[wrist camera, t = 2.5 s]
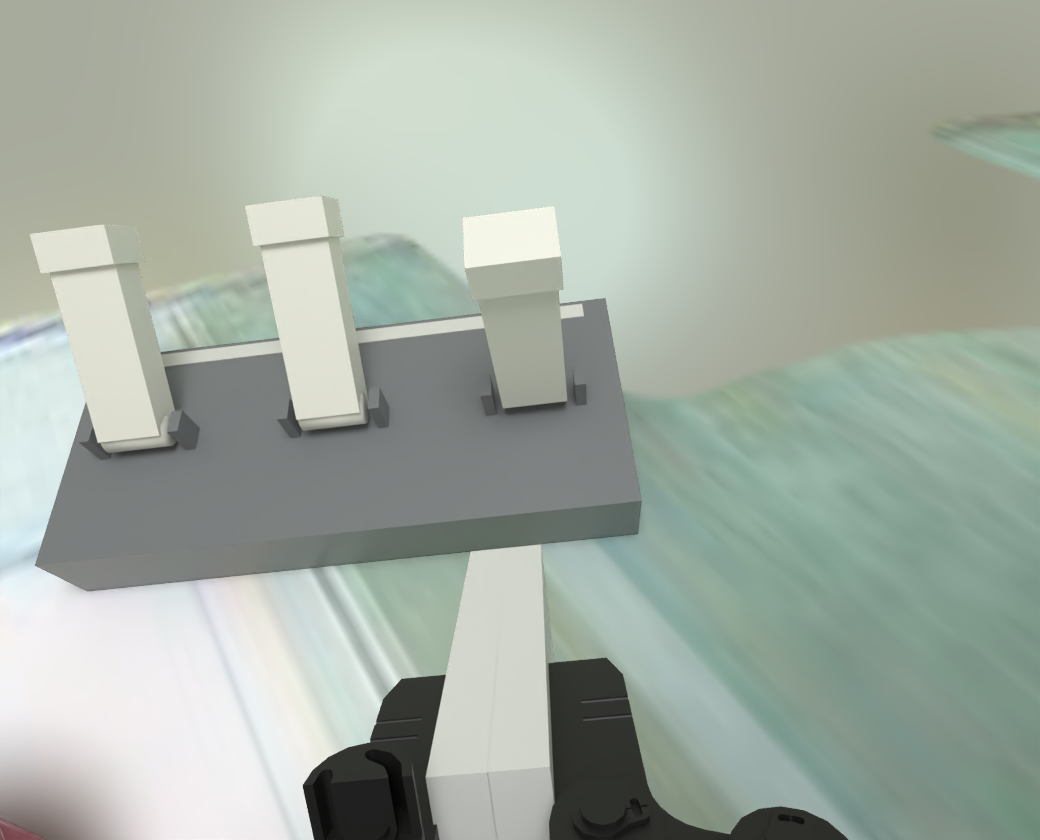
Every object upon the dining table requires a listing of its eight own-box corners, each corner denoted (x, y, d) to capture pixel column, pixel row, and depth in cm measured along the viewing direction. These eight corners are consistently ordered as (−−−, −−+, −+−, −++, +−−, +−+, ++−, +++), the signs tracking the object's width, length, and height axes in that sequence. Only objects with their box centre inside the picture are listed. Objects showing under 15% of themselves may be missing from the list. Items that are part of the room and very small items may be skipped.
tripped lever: (572, 415, 39) (561, 256, 28) (501, 423, 39) (464, 268, 29) (566, 372, 41) (554, 206, 30) (498, 379, 41) (462, 217, 30)
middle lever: (364, 429, 38) (321, 196, 35) (293, 437, 39) (245, 205, 35) (376, 416, 41) (337, 199, 38) (310, 424, 41) (266, 208, 38)
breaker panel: (637, 533, 40) (643, 482, 34) (86, 591, 42) (6, 551, 36) (605, 342, 47) (605, 274, 42) (138, 397, 49) (78, 339, 43)
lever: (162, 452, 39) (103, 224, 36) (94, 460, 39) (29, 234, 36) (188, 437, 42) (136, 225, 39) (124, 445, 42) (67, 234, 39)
